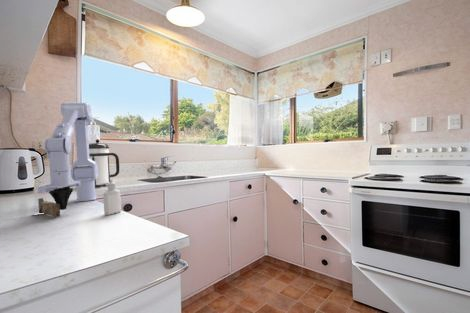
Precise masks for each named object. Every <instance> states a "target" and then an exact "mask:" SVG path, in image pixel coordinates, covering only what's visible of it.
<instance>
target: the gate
mask: <svg viewBox="0 0 470 313" xmlns="http://www.w3.org/2000/svg"><path fill="white" fill-rule="evenodd" d="M41 204H42V213H44V214H46V215H48V216H51V217H53V218H57V217H58V218H59V217H61V210H60V204H57V203H56V202H53V201H48V200H45V201H43V202H41Z"/></svg>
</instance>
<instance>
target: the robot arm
mask: <svg viewBox="0 0 470 313" xmlns="http://www.w3.org/2000/svg"><path fill="white" fill-rule="evenodd" d="M60 112H61V113H60V114H62V120H61V123H58V124H57V125H56V127H55V128H54V130H53V132H52V135H51V137H49V138H47V139H45V142H44V150H45V152H46V158H47V159H48V162H49V163H48V164H49V176H50V180H49V181H50V183H49V184H46V185H41V186H37V193H38V194H44V193H47V192H48V194H49V195H50V196H51V197H52V198H53V200H54V203H57V204H60V211H63V210H67V207H68V202H69V199H70V197H71V195H72V193H73V191H74V189H73V188H74V187H76V199H75V201H74V202H75V203H77V202H88V201H96V199H97V198H98V195H96V188H95V181H94V180H95V179H96V178H97V177H98V168H97V164H96V162H95V161H93V160H91V159H90V157H89V144H90V143H89V131H88V126H89V125H88V123H90V122H92V109H91V105H90V104H89V102H66V101H62V103H61V104H60ZM73 126H74V127H73ZM74 132H75V146H76V148H75V149H76V159H77V160H75V161H74V162H72V164H71V165H70V153H71V151H72V138H73V135H74ZM88 165H89V166H88ZM70 166H71V170H70ZM71 179H72V181H71Z"/></svg>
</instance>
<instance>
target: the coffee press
mask: <svg viewBox="0 0 470 313" xmlns="http://www.w3.org/2000/svg"><path fill="white" fill-rule="evenodd" d="M109 149H110V147H109V145H108V144H107V143H102V142H100V140H99V139H98V138H97V139H95V143H89V157H90V159H91V160H93V161H95V162H96V164H97V168H98V177H97V178H96V179H95V180H94V181H95V189H96V188H97V186H101V185H108V183H110V180H111V178H114V177H116V176H117V177H118V175H119V174H120V158H119V156H118V154H116V153H114V152H109V151H110V150H109ZM110 156H113V157H114V158H115V173H113V174H111V173H110V172H111V171H110V168H111V167H110ZM87 166H89V165H87Z"/></svg>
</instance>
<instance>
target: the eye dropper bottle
mask: <svg viewBox="0 0 470 313" xmlns="http://www.w3.org/2000/svg"><path fill="white" fill-rule="evenodd" d="M102 195H103V197H102V198H103V212H104V213H103V214H104V215H105V214H106V216H111V215H110V214H112V215H115V214H114V213H116V214H119V213H121V212H122V200H121V195H122V194H121V190H120V189H117V188H116V182H114V181H113V179H111V178H110V182H109V183H108V184H107V190H106V191H104V192H103V194H102ZM120 211H121V212H120ZM118 212H119V213H118Z"/></svg>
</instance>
